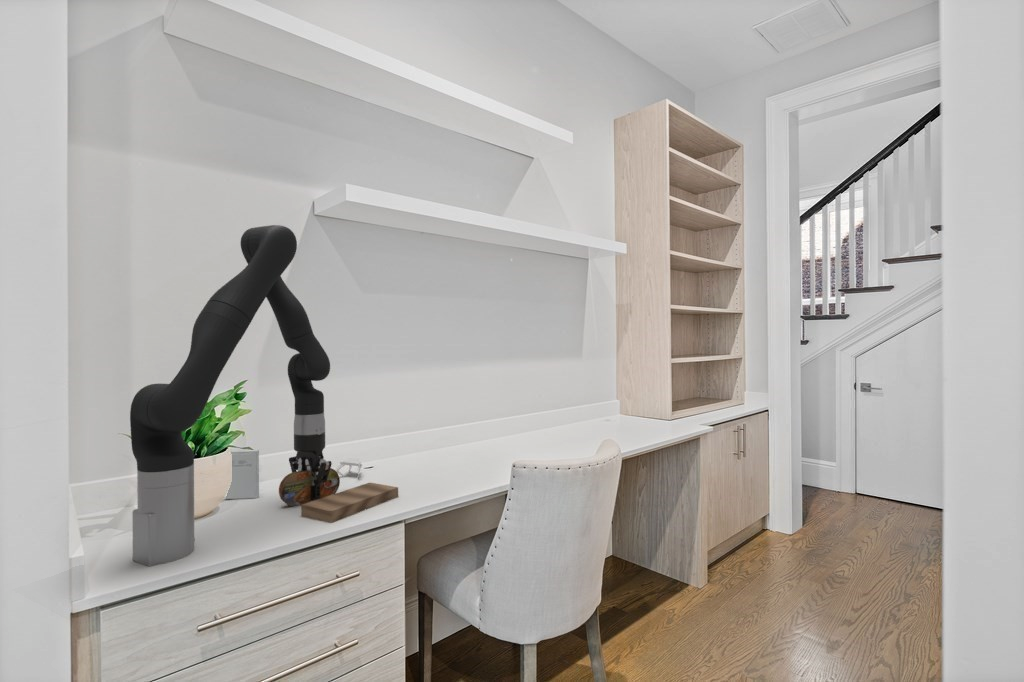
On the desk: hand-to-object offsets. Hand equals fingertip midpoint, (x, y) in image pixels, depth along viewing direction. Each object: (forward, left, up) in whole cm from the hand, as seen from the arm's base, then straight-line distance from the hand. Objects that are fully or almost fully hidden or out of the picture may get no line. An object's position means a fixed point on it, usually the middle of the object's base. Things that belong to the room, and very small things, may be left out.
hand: (310, 498), depth 135 cm
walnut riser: (+2, -13, -1) cm, 13 cm away
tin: (0, 0, -1) cm, 1 cm away
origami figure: (+23, +9, -1) cm, 25 cm away
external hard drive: (-6, +19, -1) cm, 20 cm away
